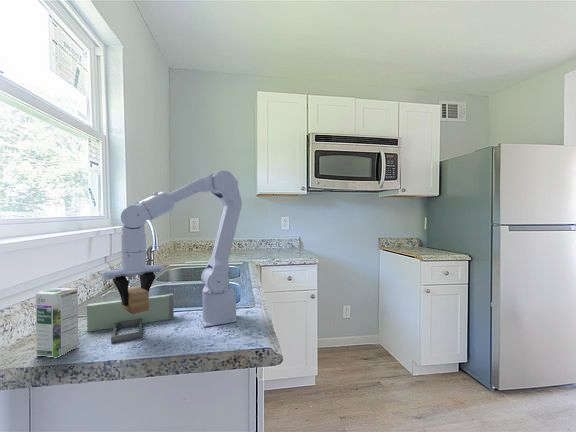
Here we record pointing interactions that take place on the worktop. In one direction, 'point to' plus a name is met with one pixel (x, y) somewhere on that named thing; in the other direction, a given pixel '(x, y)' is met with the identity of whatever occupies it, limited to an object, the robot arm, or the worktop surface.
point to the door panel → (113, 312)
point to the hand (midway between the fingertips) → (134, 303)
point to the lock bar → (137, 300)
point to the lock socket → (128, 336)
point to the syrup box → (56, 321)
